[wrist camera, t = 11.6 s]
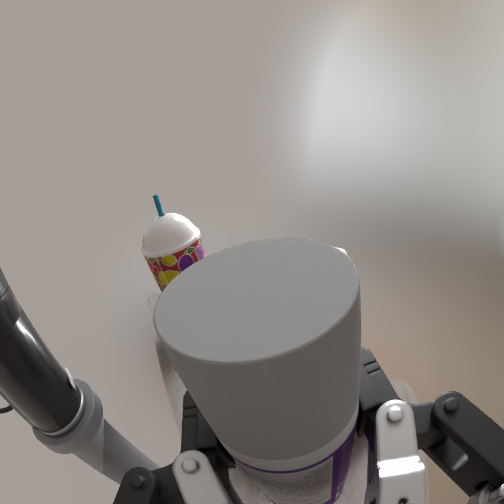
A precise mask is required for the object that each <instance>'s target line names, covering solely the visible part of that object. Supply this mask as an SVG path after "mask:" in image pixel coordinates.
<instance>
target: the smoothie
mask: <svg viewBox="0 0 504 504" xmlns="http://www.w3.org/2000/svg"><path fill="white" fill-rule="evenodd" d="M153 198H154V201H155V204H156V208H157V211H158V214H159V216H157V217H155V218H154V219H153V220H152V221H151V222H150V223H149V224H148V226H147V228H146V230H145V233H144V236H143V247H142V249H141V252H142V253H143V255H144V257H145V259H146V261H147V263H148V265H149V267H150V269H151V271H152V273H153V275H154V277H155V279H156V281H157V283H158V285H159V287H160V289H161V291H162V292H163V290H164V289H165V288H166V286H167V285H168V284H169V283H170V282H171V281H172V280H173V279H174V278H175V277H176V276H177V275H179V274H180V273H181V272H182V271H184V270H185V269H187V268H188V267H189V266H191V265H193V264H194V263H196V262H198V261H199V260H201V259H203V258H205V253H204V249H203V245H202V241H201V237H200V230H199V229H198V228H197V227H195V226H194V225H193V223H191V221H190V220H188V219H187V218H186V217H184V216H182V215H180V214H176V213H163V210H162V207H161V204H160V201H159V197H158V195H154V196H153Z"/></svg>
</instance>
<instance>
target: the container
mask: <svg viewBox="0 0 504 504" xmlns="http://www.w3.org/2000/svg"><path fill="white" fill-rule="evenodd" d="M154 326H155V330H156V332H157V334H158V336H159V338H160V340H161V342H162V344H163V346H164V348H165V350H166V352H167V354H168V356H169V358H170V360H171V361H172V363H173V365H174V367H175V369H176V371H177V372H178V374H179V376H180V378H181V380H182V381H183V383H184V385H185V387H186V388H187V390H188V392H189V393H190V395H191V397H192V398H193V400H194V402H195V403H196V405H197V407H198V408H199V410H200V411H201V413H202V415H203V416H204V418H205V419H206V421H207V422H208V424H209V425H210V427H211V428H212V430H213V431H214V433H215V434H216V436H217V437H218V439H219V440H220V442H221V443H222V445H223V446H224V448H225V449H226V450H227V451H228V453H229V454H230V455H231V456H232V458H233V459H234V460H235V461H236V463H237V464H238V465H239V466H240V467H241V468H242V470H243V471H244V472H245V473H246V474H247V475H248V477H249V478H250V479H251V480H252V481H253V482H254V483H255V484H256V485H257V487H258V488H259V489H260V490H261V491H262V492H263V493H264V494H265V495H266V496H267V497H268V498H269V499H270V500H271V501H272V502H273V503H274V504H333V503H334V502H335V501H336V500H337V499H338V498H339V496H340V495H341V493H342V490H343V488H344V484H345V480H346V476H347V471H348V467H349V462H350V457H351V452H352V447H353V441H354V435H355V429H356V423H357V416H358V404H359V389H360V367H361V300H360V280H359V274H358V271H357V268H356V266H355V265H354V263H353V262H352V260H351V259H350V258H349V257H348V256H347V255H346V254H345V253H343V252H342V251H340V250H339V249H337V248H335V247H333V246H330V245H328V244H325V243H322V242H318V241H314V240H308V239H300V238H273V239H265V240H258V241H252V242H248V243H243V244H240V245H236V246H233V247H230V248H227V249H224V250H221V251H219V252H216V253H214V254H212V255H209V256H207V257H205V258H203V259H201V260H199V261H198V262H196V263H194V264H193V265H191V266H189V267H188V268H187V269H185V270H184V271H182V272H181V273H180V274H179V275H177V276H176V277H175V278H174V279H173V280H172V281H171V282H170V283H169V284H168V285H167V286H166V288H165V289H164V290H163V292H162V293H161V295H160V297H159V299H158V300H157V303H156V306H155V310H154Z"/></svg>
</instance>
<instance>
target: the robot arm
mask: <svg viewBox="0 0 504 504" xmlns="http://www.w3.org/2000/svg"><path fill="white" fill-rule="evenodd" d="M66 371H67V373H66ZM66 371H65V370H64V369H63V368H62V366H61V365H60V364H59V362H58V361H57V360H56V358H55V357H54V356H53V354H52V353H51V352H50V350H49V349H48V347H47V346H46V345H45V343H44V342H43V340H42V339H41V338H40V336H39V335H38V333H37V331H36V330H35V328H34V327H33V325H32V324H31V322H30V321H29V319H28V317H27V316H26V314H25V313H24V311H23V309H22V308H21V306H20V305H19V302H18V301H17V299H16V297H15V295H14V294H13V292H12V290H11V288H10V286H9V285H8V282H7V280H6V279H5V277H4V275H3V272H2V270H1V268H0V395H1V396H2V397H3V398H4V399H5V400H6V401H7V402H8V403H9V404H10V405H9V406H8V407H5V408H1V409H0V413H6V412H9V411H11V410H13V409H15V410H16V411H17V412H18V413H19V414H20V415H21V416H22V417H23V418H24V419H25V420H26V421H27V422H28V423H29V424H30V425H31V426H32V427H33V428H35V429H38V430H39V431H41V432H42V433H43V434H44V435H46V436H48V437H61V436H63V435H65V434H67V433H69V432H70V431H71V430H73V429H74V428H75V427H76V426H77V424H78V423H79V422H80V420H81V418H82V417H83V414H84V412H85V408H86V397H85V394H84V392H83V391H82V389H81V388H80V387H79V386H78V385H77V384H76V383H75V382H74V381H73V379H72V376H71V373H70V372H69V371H68V370H67V368H66ZM355 430H356V433H357V435H358V438H359V437H361V436H364V435H366V438H367V440H368V442H369V443H368V470H367V488H366V493H365V501H364V504H402V503H403V504H426V486H425V469H424V465H423V463H422V461H420V460H419V457H418V450H419V449H422V450H423V451H424V452H425V453H426V454H427V455H428V456H429V457H430V458H431V459H432V460H433V461H434V462H435V463H436V464H437V465H438V466H439V467H440V468H441V469H442V470H443V471H444V472H445V473H446V474H447V475H448V476H449V477H450V478H451V479H452V480H453V481H454V482H455V483H456V484H457V485H458V486H459V487H460V488H461V489H462V490H463V491H464V492H465V493H466V494H467V495H468V496H469V497H470V499H469V501H468V504H504V430H503V429H502V428H501V427H500V426H499V425H498V424H496V423H495V422H494V421H493V420H492V419H491V418H489V417H488V416H487V415H486V414H484V413H483V412H482V411H481V410H480V409H479V408H477V407H476V406H475V405H474V404H473V403H471V402H470V401H469V400H468V399H467V398H465V397H464V396H463V395H462V394H460V393H458V392H456V391H448V392H444V393H442V394H441V395H439V397H438V398H437V399H436V400H435V401H433V402H428V403H423V404H409V403H406V402H404V401H402V400H401V399H400V398H399V397H398V396H397V394H396V393H395V391H394V389H393V387H392V386H391V384H390V382H389V381H388V379H387V377H386V375H385V374H384V372H383V370H382V369H381V367H380V365H379V364H378V362H377V361H376V359H375V357H374V355H373V354H372V352H371V351H370V350H369V349H367V348H366V347H365V346H363V345H361V367H360V389H359V404H358V416H357V423H356V429H355ZM229 468H236V466H235V460H234V459H233V458H232V456H231V455H230V454H229V453H228V451H227V450H226V449H225V448H224V446H223V445H222V443H221V442H220V440H219V439H218V437H217V436H216V434H215V433H214V431H213V430H212V428H211V427H210V425H209V424H208V422H207V421H206V419H205V418H204V416H203V415H202V413H201V411H200V410H199V408H198V407H197V405H196V403H195V402H194V400H193V398H192V397H191V395H190V393H189V392H188V390H187V391H186V393H185V395H184V399H183V418H182V440H181V452H180V454H179V455H178V456H177V457H176V458H175V460H174V462H173V463H172V464H170V465H168V466H166V467H163V468H159V469H156V470H153V471H149V470H147V469H145V468H142V467H136V468H132V469H130V470H129V471H128V472H127V473H126V474H125V475H124V477H123V480H122V482H121V485H120V487H119V490H118V492H117V495H116V498H115V500H114V503H113V504H243V503H242V501H241V499H240V497H239V496H238V494H237V492H236V490H235V488H234V487H233V485H232V483H231V481H230V479H229V472H228V469H229Z"/></svg>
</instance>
